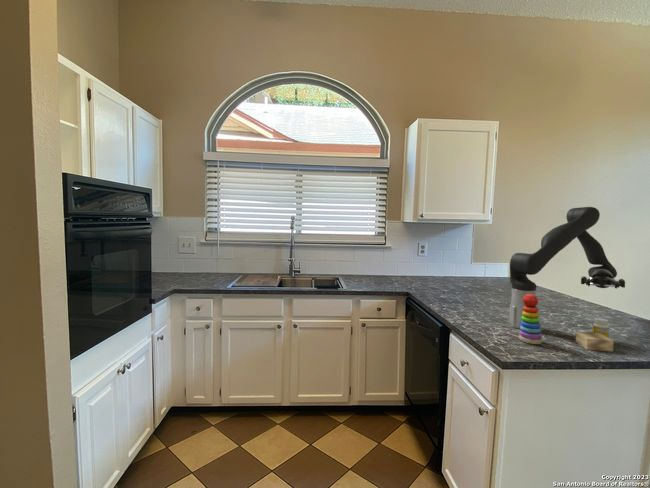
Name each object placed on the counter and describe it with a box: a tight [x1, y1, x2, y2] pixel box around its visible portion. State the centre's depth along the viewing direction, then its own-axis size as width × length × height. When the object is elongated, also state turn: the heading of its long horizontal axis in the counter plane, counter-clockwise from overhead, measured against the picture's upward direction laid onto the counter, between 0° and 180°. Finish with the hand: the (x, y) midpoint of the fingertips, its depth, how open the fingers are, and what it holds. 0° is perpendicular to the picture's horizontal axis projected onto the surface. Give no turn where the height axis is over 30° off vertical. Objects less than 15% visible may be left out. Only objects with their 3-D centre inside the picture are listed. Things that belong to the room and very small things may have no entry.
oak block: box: [575, 331, 615, 352], centre depth 118 cm, size 8×8×4 cm
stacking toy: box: [518, 294, 544, 345], centre depth 123 cm, size 8×8×19 cm
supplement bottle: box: [592, 317, 610, 338], centre depth 124 cm, size 5×5×8 cm
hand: (602, 284), depth 131 cm, fingers open, 8 cm apart
